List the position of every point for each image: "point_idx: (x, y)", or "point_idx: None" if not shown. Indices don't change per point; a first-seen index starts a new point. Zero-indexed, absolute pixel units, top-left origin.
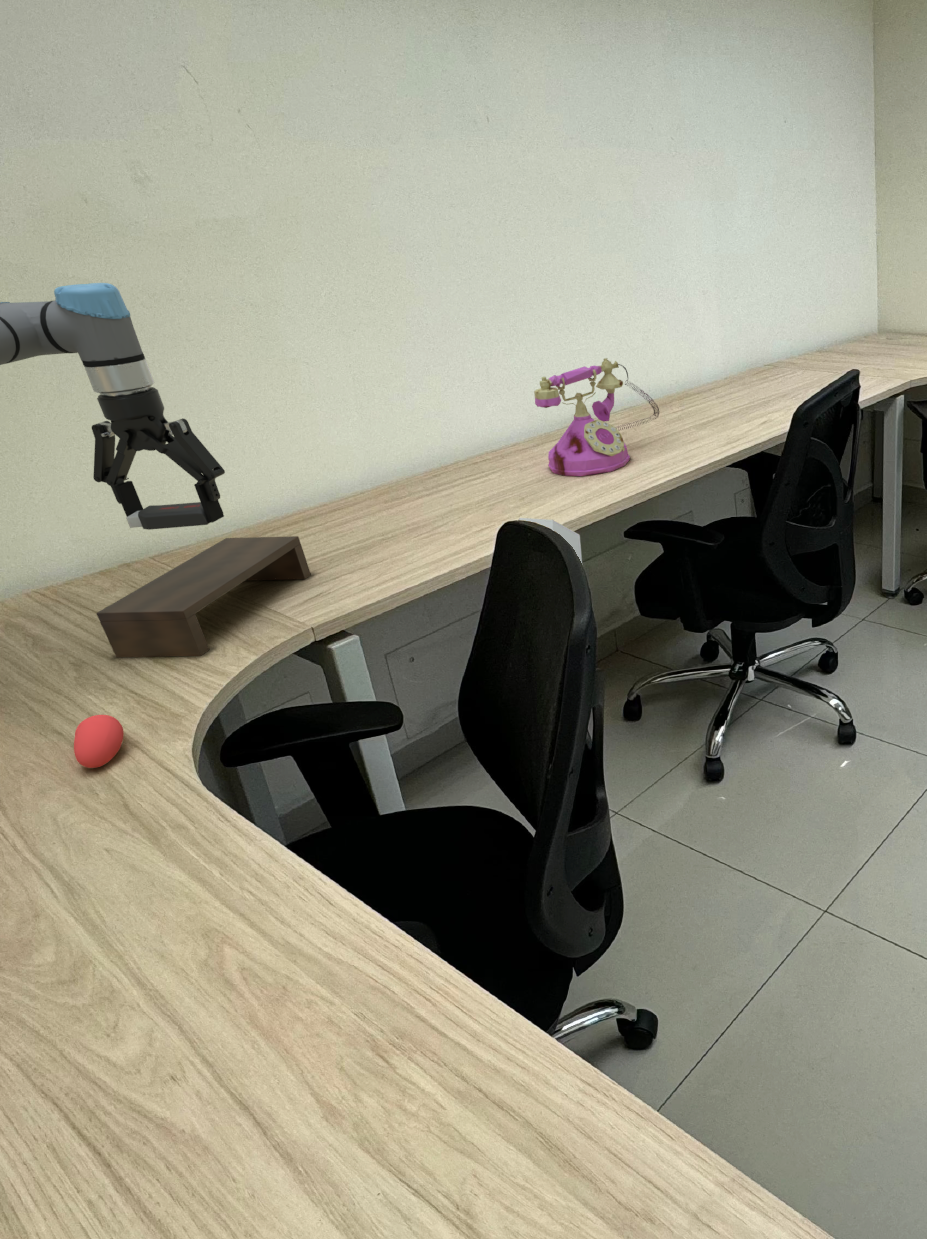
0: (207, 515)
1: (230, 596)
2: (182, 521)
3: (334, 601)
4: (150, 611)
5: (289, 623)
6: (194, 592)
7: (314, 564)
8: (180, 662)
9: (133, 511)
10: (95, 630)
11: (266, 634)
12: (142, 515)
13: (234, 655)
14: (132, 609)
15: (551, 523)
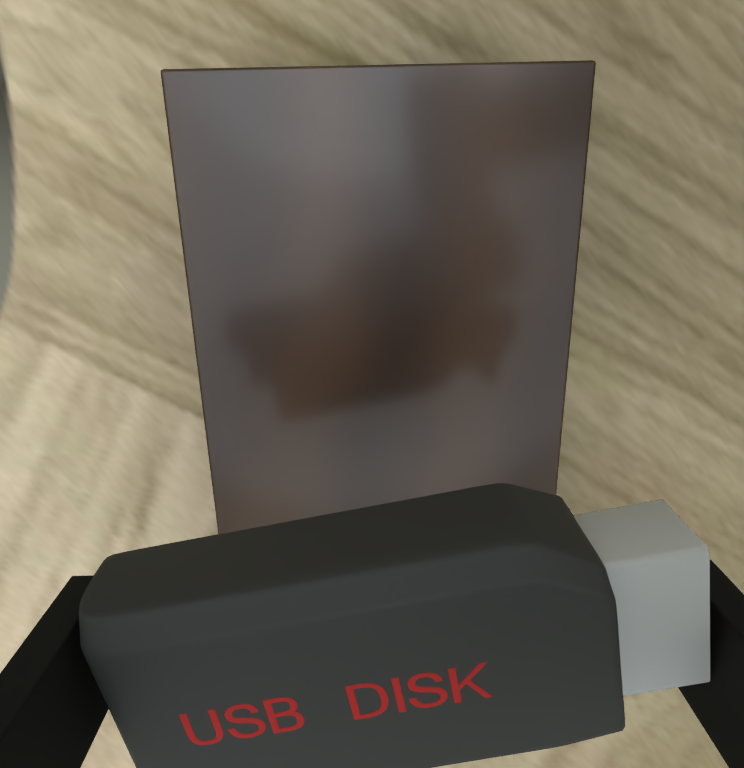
0: (65, 615)
1: None
2: (251, 550)
3: (51, 476)
4: (326, 70)
5: (84, 334)
6: (270, 276)
7: None
8: (259, 56)
9: (722, 655)
10: (739, 295)
11: (103, 258)
12: (558, 563)
13: (97, 106)
14: (436, 96)
15: None
